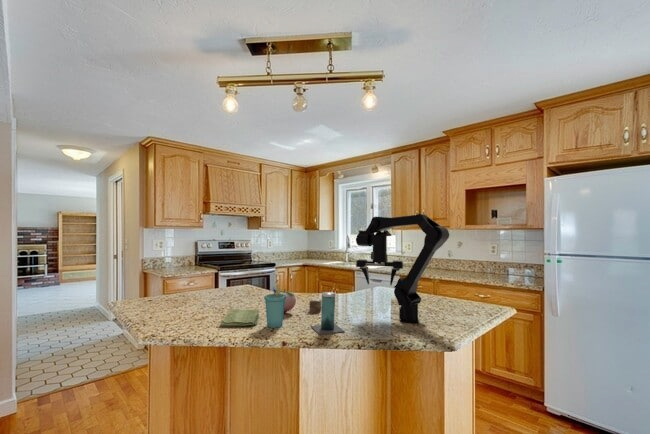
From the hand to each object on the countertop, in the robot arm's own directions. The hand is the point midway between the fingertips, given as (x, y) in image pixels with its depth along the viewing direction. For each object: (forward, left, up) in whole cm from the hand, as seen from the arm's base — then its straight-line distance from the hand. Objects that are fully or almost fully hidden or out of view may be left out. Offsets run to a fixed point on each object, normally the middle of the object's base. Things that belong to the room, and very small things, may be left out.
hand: (379, 284), depth 134 cm
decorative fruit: (+38, +10, -12) cm, 41 cm away
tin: (+15, +26, -12) cm, 32 cm away
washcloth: (+49, +25, -13) cm, 56 cm away
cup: (+34, +28, -12) cm, 46 cm away
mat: (+15, +26, -12) cm, 32 cm away
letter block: (+27, +2, -12) cm, 30 cm away
